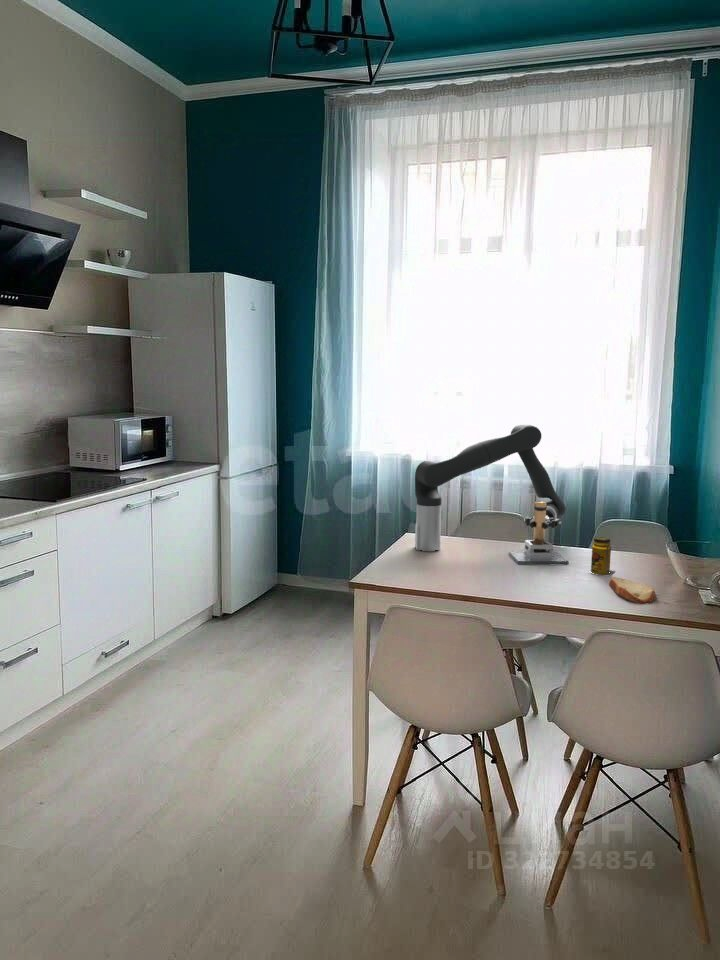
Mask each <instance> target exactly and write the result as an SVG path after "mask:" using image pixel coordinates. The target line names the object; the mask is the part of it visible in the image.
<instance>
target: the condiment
mask: <svg viewBox="0 0 720 960" xmlns="http://www.w3.org/2000/svg"><path fill="white" fill-rule="evenodd" d="M611 553H612V548H611V539H610V538H608V537H604V536H597V537H594V538H593V544H592V546H591V560H590V561H591V563H590V571H591V572H592V573H594V574H593V575H595V574H598V575H597V576H603V577H610V576H612V575H613V574H614V573H615V572H616V570H613V569H612V570H611ZM609 572H610V573H609ZM589 574H591V573H589ZM591 575H592V574H591Z"/></svg>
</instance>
